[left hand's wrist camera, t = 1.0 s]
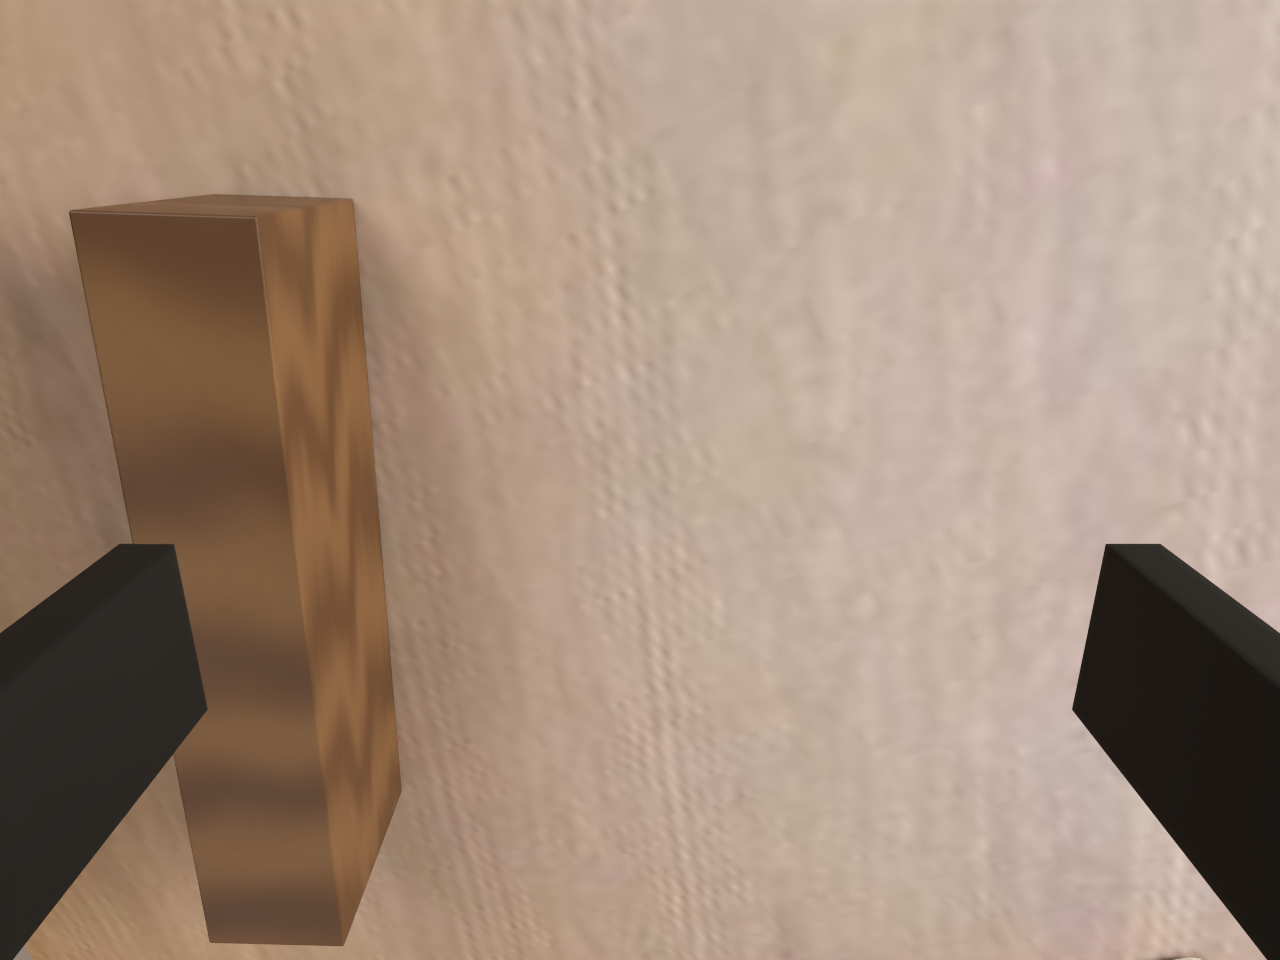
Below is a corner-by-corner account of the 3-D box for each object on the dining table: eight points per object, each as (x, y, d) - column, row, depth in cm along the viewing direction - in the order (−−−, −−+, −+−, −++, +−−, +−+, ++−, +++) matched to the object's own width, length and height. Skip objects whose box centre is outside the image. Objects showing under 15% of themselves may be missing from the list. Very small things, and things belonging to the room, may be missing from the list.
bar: (212, 194, 29) (66, 209, 22) (354, 198, 29) (256, 216, 22) (293, 788, 38) (208, 943, 31) (401, 792, 38) (344, 947, 31)
